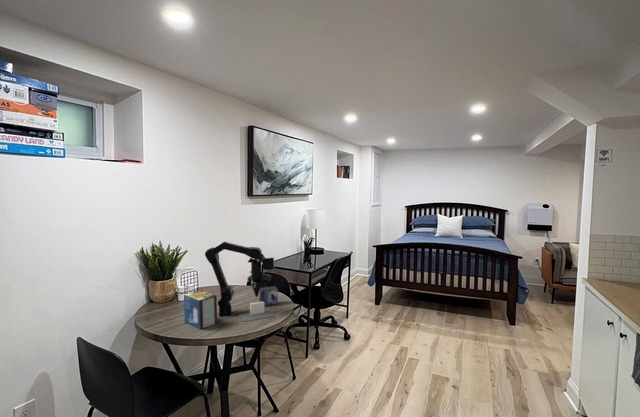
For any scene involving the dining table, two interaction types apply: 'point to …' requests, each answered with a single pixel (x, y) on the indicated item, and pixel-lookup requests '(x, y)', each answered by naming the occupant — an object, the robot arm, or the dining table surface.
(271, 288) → the small box
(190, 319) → the protein box
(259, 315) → the rubber mat
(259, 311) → the cream slab
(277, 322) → the dining table surface
